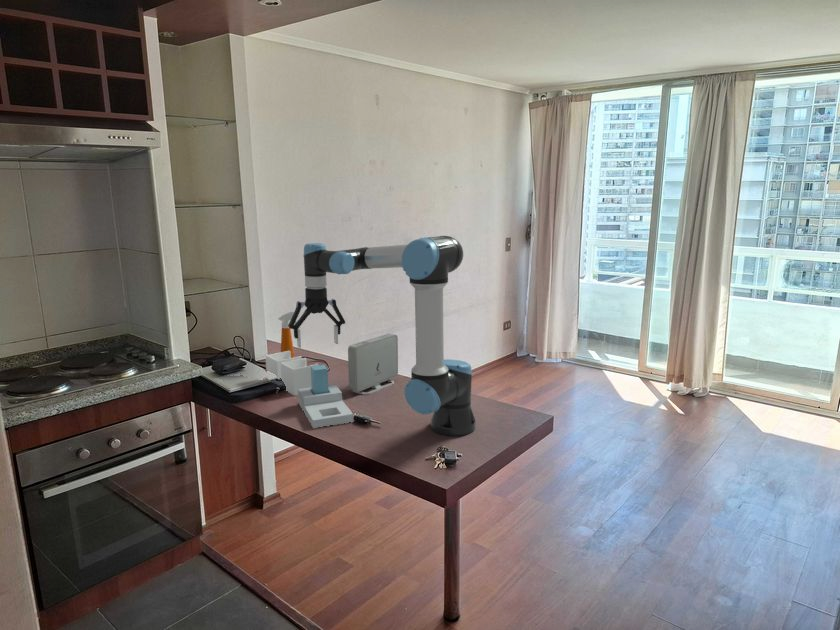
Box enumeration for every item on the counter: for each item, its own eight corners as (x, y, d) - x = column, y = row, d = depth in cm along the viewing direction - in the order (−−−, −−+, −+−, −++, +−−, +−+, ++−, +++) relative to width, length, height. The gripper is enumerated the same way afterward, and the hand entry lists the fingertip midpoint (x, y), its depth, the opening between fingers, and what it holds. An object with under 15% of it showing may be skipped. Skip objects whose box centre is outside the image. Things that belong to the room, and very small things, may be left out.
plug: (328, 399, 207) (327, 368, 205) (315, 401, 205) (313, 370, 203) (324, 394, 213) (323, 363, 210) (311, 396, 211) (310, 365, 208)
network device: (360, 398, 217) (359, 348, 213) (344, 393, 222) (342, 344, 218) (402, 381, 237) (401, 335, 233) (386, 376, 242) (385, 331, 238)
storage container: (266, 380, 238) (265, 355, 236) (290, 374, 245) (289, 350, 243) (294, 396, 220) (293, 369, 217) (319, 390, 226) (318, 364, 224)
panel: (353, 422, 195) (353, 405, 194) (313, 428, 189) (312, 411, 188) (335, 398, 216) (334, 384, 215) (298, 404, 211) (298, 389, 210)
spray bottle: (301, 370, 250) (298, 312, 244) (277, 370, 251) (274, 312, 245) (305, 366, 257) (303, 309, 251) (282, 365, 258) (279, 309, 252)
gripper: (347, 283, 208) (348, 339, 212) (278, 287, 198) (281, 345, 203) (352, 286, 201) (354, 344, 206) (282, 291, 191) (284, 351, 196)
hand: (317, 345), depth 204 cm, fingers open, 13 cm apart
